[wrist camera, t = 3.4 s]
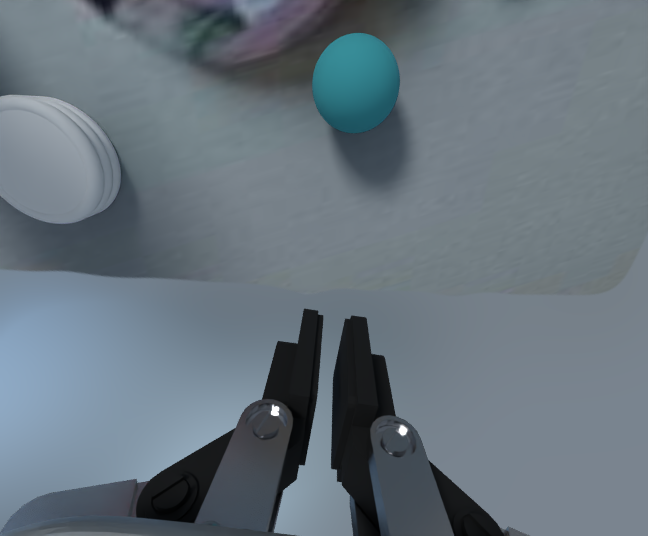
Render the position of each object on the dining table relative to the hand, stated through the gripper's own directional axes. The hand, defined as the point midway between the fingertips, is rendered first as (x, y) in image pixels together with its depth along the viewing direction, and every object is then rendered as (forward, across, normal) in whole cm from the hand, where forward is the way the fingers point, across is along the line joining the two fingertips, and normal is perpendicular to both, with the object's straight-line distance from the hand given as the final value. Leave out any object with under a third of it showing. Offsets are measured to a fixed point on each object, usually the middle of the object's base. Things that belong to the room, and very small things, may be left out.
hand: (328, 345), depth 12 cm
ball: (+16, 0, -10) cm, 19 cm away
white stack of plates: (+20, +24, -1) cm, 31 cm away
